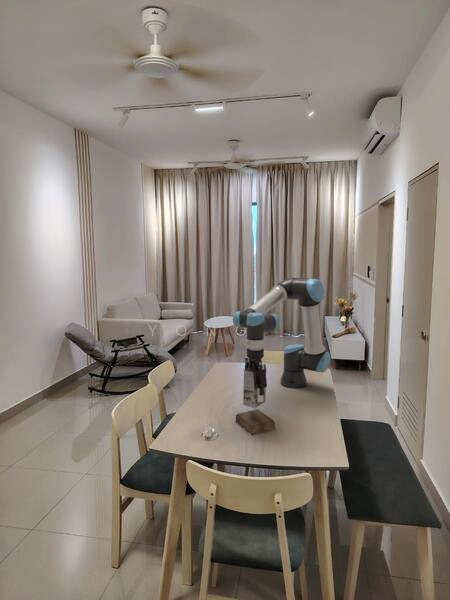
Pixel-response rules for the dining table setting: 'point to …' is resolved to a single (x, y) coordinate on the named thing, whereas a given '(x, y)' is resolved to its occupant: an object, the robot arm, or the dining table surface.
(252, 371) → the coffee box
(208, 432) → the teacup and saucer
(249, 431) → the walnut base
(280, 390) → the dining table surface
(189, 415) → the dining table surface
